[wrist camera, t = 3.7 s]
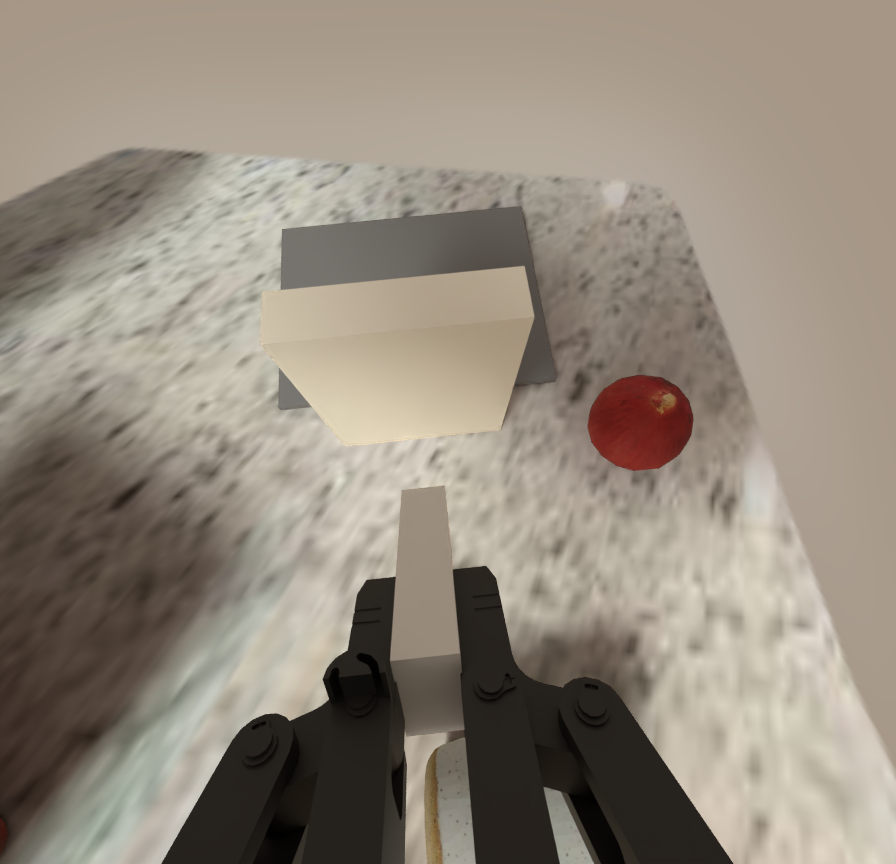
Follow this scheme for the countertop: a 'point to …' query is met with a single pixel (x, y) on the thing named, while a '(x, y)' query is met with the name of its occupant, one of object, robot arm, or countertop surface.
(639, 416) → the onion
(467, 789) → the ceramic mug
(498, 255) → the mat
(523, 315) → the tile
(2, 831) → the plant pot
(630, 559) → the countertop surface
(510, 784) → the robot arm
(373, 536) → the countertop surface
